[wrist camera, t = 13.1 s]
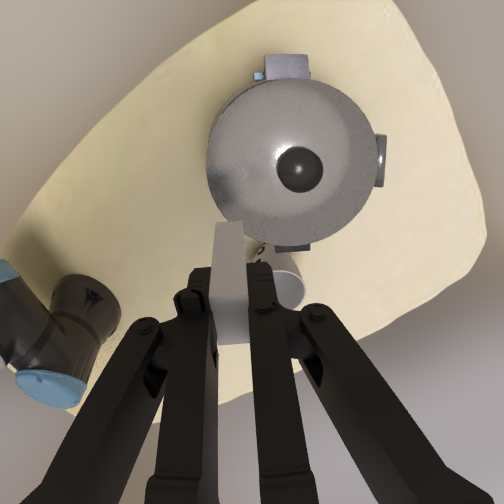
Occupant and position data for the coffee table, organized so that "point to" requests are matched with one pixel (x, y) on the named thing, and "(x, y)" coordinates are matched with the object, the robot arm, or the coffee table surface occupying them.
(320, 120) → the lid
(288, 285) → the cup
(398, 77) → the coffee table surface
